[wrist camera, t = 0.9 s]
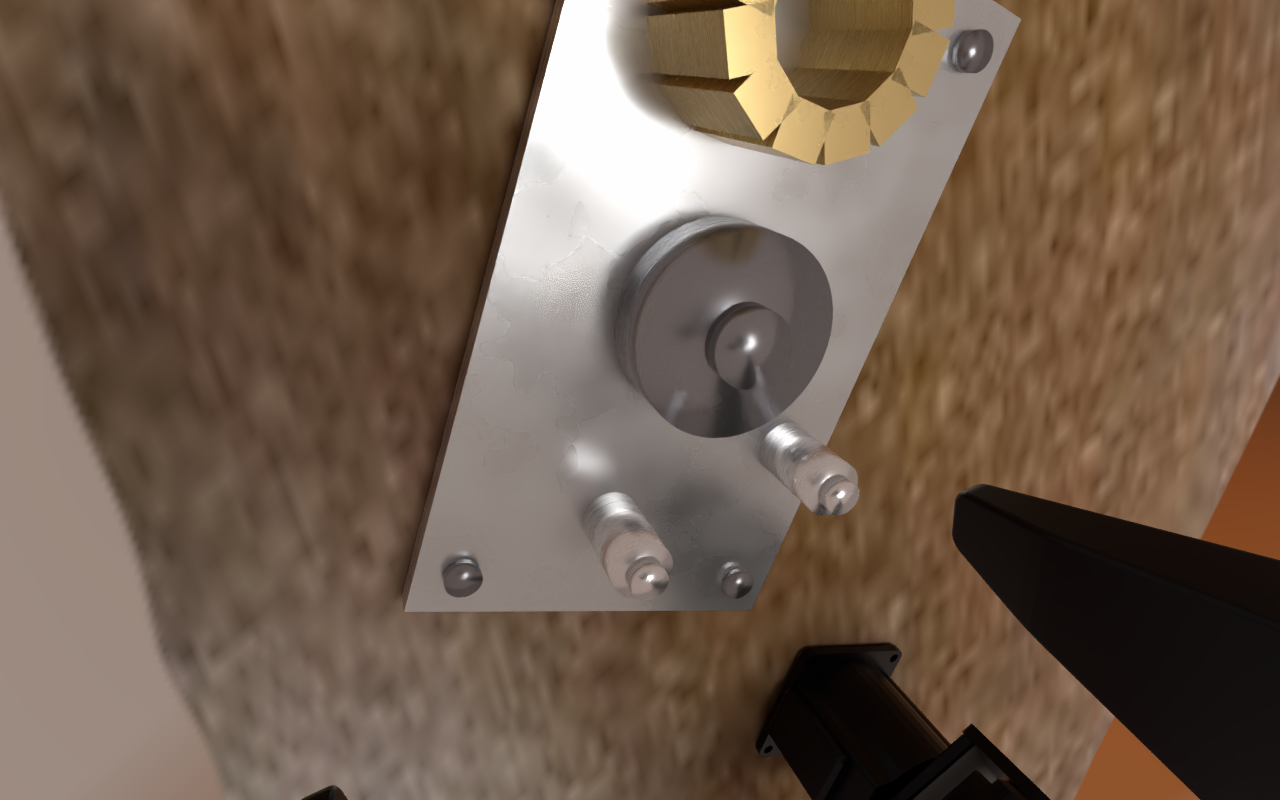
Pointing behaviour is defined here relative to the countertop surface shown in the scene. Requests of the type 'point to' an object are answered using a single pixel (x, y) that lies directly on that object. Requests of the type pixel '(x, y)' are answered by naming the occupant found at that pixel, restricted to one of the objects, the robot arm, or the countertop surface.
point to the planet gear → (798, 72)
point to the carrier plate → (566, 299)
